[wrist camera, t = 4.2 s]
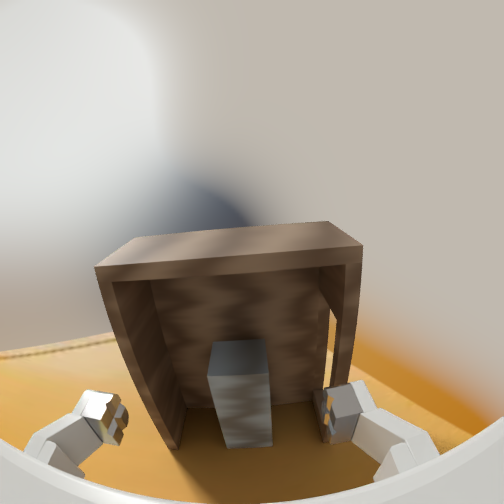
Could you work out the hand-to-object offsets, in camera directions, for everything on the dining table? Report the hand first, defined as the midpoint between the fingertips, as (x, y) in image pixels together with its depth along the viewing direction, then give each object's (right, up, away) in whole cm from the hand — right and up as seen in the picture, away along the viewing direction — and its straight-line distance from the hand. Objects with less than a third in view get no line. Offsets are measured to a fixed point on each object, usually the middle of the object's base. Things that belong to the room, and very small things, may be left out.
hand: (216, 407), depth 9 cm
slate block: (+1, -15, +17) cm, 23 cm away
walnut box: (+1, -14, +18) cm, 23 cm away
